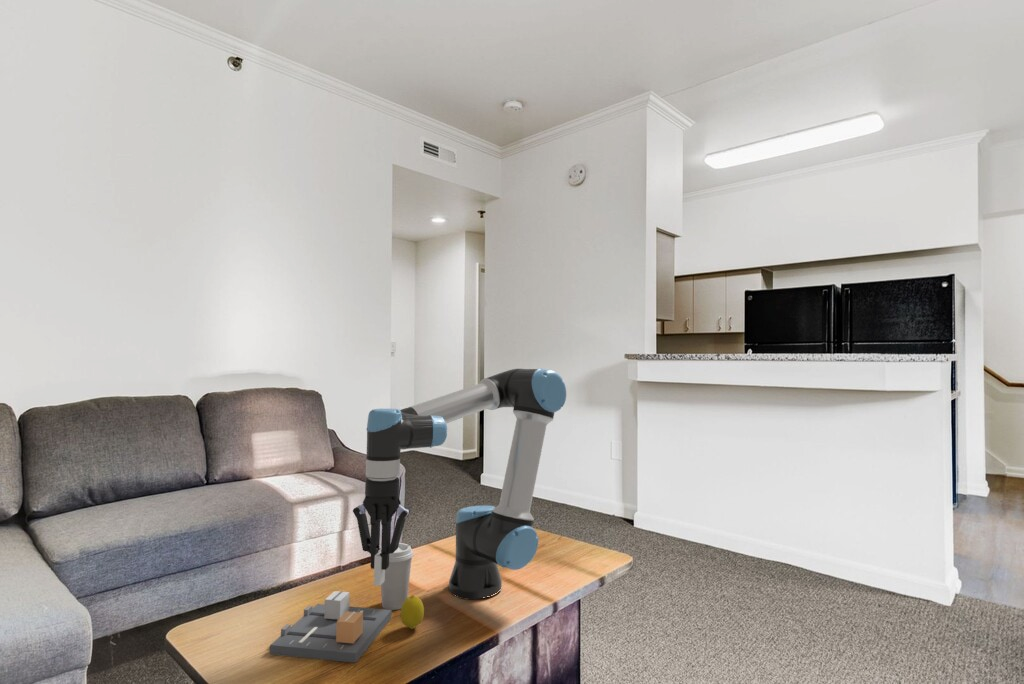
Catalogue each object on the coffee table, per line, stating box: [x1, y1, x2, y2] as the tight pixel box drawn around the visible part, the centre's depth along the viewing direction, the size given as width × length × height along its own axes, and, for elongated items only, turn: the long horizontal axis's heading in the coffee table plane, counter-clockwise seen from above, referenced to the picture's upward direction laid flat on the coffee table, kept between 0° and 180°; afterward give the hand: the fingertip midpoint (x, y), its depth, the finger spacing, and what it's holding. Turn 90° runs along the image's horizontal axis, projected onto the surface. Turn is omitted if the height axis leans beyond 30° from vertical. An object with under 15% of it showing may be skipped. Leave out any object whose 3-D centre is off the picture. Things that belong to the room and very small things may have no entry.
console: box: [269, 603, 393, 664], centre depth 130 cm, size 20×21×3 cm
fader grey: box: [324, 590, 350, 620], centre depth 135 cm, size 4×5×5 cm
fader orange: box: [336, 611, 363, 644], centre depth 124 cm, size 4×5×5 cm
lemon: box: [400, 594, 425, 630], centre depth 133 cm, size 6×6×8 cm
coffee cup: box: [378, 542, 414, 611], centre depth 146 cm, size 10×10×15 cm
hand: (379, 583), depth 123 cm, fingers closed
